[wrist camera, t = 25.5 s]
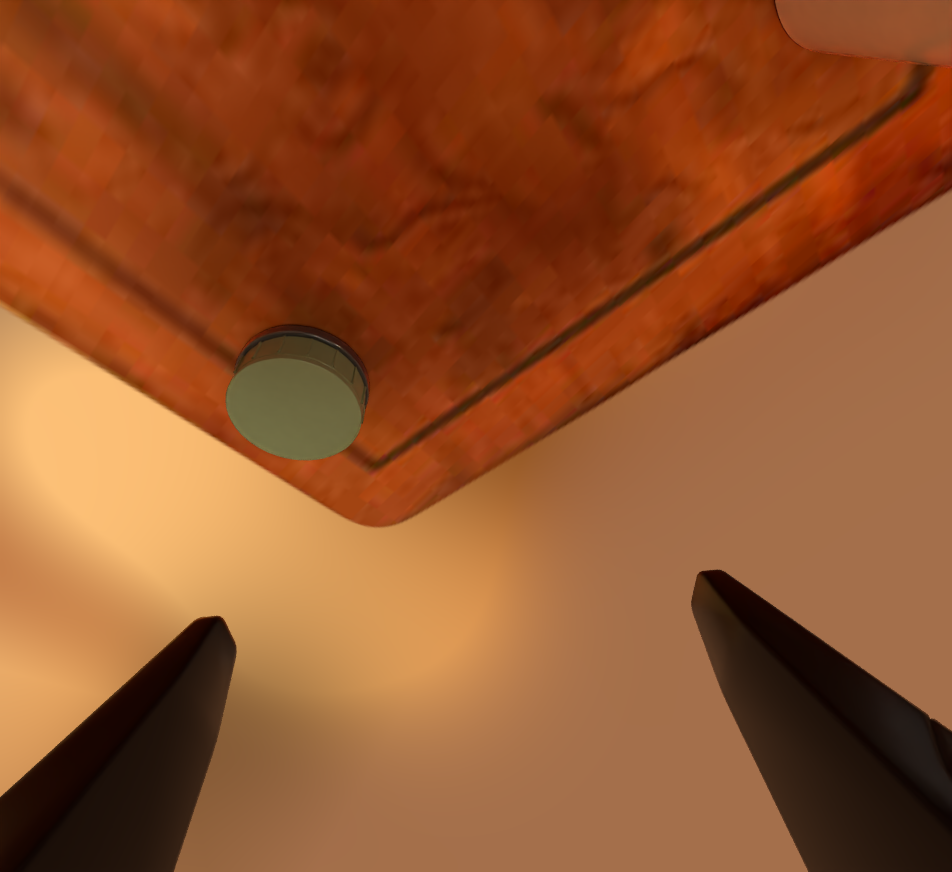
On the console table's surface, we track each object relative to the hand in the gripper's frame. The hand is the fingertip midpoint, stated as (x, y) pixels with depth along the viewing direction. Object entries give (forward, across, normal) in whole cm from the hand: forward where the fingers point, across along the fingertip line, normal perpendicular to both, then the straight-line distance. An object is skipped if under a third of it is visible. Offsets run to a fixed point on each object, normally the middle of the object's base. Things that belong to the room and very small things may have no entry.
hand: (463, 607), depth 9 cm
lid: (+14, +7, +2) cm, 16 cm away
